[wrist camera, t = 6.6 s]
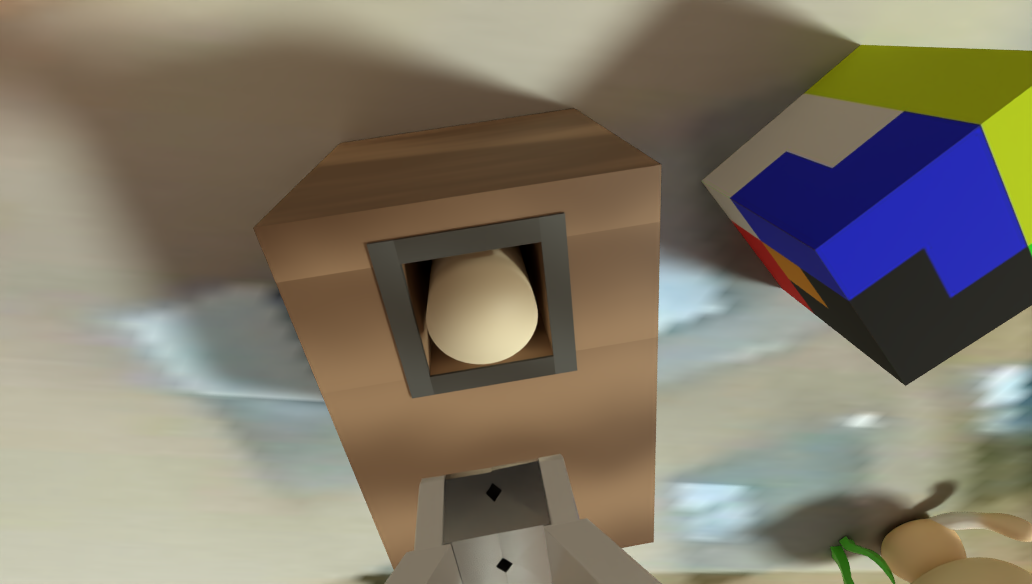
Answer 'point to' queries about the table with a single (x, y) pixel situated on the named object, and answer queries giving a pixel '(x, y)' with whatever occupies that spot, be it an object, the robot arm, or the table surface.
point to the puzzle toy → (897, 199)
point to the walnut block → (557, 291)
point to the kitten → (942, 551)
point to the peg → (481, 305)
